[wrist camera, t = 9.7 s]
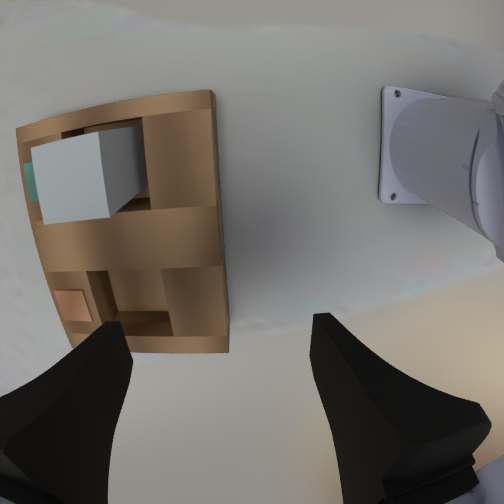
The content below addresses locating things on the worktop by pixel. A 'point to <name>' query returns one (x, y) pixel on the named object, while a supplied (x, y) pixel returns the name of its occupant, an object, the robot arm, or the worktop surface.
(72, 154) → the matte gray box
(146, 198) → the port block
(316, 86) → the worktop surface
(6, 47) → the worktop surface
